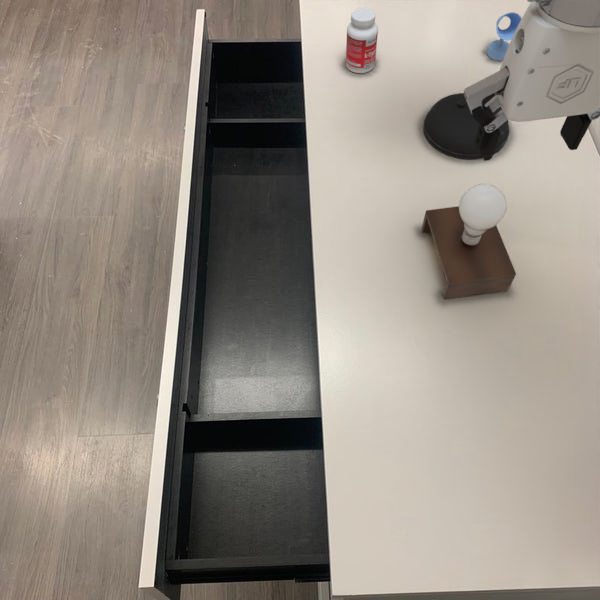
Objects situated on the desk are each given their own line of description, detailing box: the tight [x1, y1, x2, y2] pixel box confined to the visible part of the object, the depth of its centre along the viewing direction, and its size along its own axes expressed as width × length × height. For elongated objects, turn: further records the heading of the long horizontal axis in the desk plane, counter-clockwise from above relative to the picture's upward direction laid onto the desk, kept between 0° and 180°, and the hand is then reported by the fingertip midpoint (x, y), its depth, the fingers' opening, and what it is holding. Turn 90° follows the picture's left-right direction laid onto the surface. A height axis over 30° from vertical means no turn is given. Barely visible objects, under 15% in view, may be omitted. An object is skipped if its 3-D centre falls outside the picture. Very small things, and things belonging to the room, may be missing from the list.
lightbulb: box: [458, 183, 508, 246], centre depth 76 cm, size 6×6×11 cm
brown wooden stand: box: [421, 205, 517, 301], centre depth 83 cm, size 10×14×5 cm
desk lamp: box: [422, 92, 510, 160], centre depth 81 cm, size 24×26×45 cm
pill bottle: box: [345, 7, 379, 74], centre depth 107 cm, size 6×6×11 cm
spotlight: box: [486, 11, 522, 61], centre depth 107 cm, size 5×10×7 cm
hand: (525, 146), depth 60 cm, fingers open, 9 cm apart
